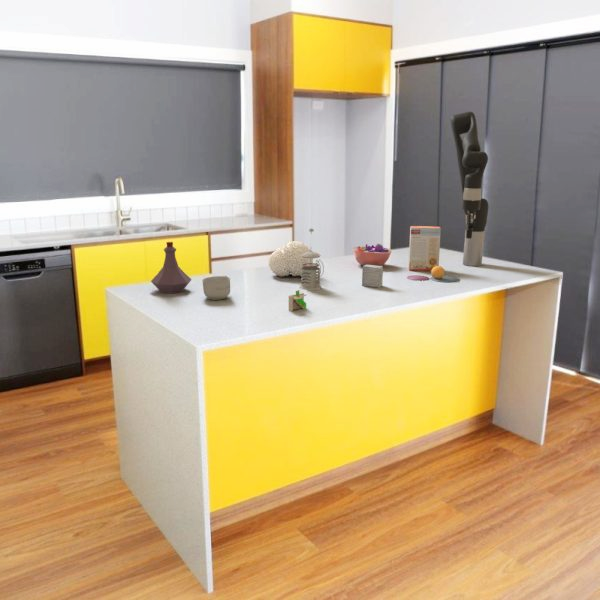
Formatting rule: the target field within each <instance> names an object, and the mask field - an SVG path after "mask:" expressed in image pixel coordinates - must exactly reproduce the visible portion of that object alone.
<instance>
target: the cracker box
mask: <svg viewBox="0 0 600 600" xmlns="http://www.w3.org/2000/svg"><path fill="white" fill-rule="evenodd" d="M441 233H442V228H441V227H440V226H430V225H429V226H427V225H425V226H424V225H411V226H410V228H409V247H408V248H409V250H408V251H409V252H408V253H409V254H408V270H409V271H410V272H411V271H415V272H420V271H421V272H422V271H423V272H431V270H432V269H433V267H435V266H440V250H441V249H440V248H441V235H442V234H441Z"/></svg>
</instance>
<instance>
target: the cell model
mask: <svg viewBox="0 0 600 600" xmlns="http://www.w3.org/2000/svg"><path fill="white" fill-rule="evenodd" d="M352 252H353V254H354V257H355V260H356V262H357V263H358V265H359V264H360V265H362V266H364V265H375V266H384V265H385V264H386V263H387V261H388V260H389V258H390V256H391V254H392V252H393V251H392V250H391V249H390V248H388V247H384V246H383V245H382V244H380V243H376V245H373V244H372V245H368V244H365V246H364V245H363V246H360V245H359V246H356V247H353V248H352Z"/></svg>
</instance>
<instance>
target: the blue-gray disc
mask: <svg viewBox="0 0 600 600" xmlns="http://www.w3.org/2000/svg"><path fill="white" fill-rule="evenodd" d="M429 280H431V281H433V282H438V283H446V284H447V283H459V282H460V280H461V279H460V278H459V277H455V276H451V275H444V276H443V277H442V278H441V279H435V278H434V277H433V276H431V277H429Z"/></svg>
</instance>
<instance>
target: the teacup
mask: <svg viewBox="0 0 600 600" xmlns="http://www.w3.org/2000/svg"><path fill="white" fill-rule="evenodd" d="M202 288H203V289H202V290H203V294H204V295H205V297H207V298H208V299H209V300H212V301H217V300H218V301H219V300H224V299H226V298H227V297H228V296H229V295H230V294H231V277H229V276H228V275H216V276H215V275H214V276H208V277H204V278H203V279H202Z"/></svg>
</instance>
